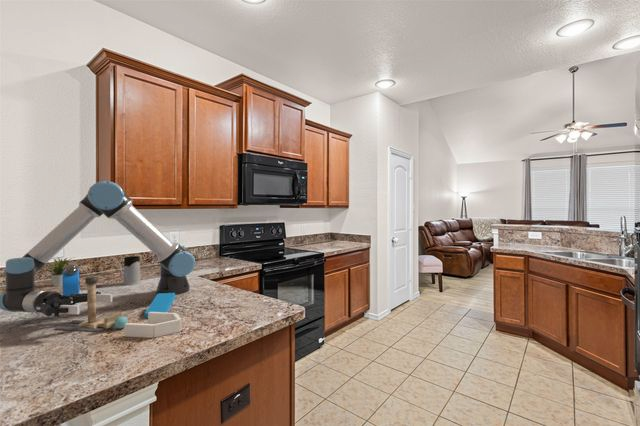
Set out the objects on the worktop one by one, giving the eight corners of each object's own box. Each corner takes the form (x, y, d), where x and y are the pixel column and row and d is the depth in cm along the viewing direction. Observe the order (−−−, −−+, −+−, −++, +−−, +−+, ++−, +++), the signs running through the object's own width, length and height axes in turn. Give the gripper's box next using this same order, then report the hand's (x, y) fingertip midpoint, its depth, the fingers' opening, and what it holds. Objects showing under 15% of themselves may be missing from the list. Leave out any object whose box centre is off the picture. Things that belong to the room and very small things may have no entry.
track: (55, 329, 106) (55, 327, 106) (73, 322, 113) (73, 319, 113) (101, 331, 104) (101, 329, 104) (117, 324, 111) (117, 321, 111)
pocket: (124, 336, 100) (124, 324, 100) (150, 322, 112) (150, 311, 112) (169, 338, 98) (169, 326, 98) (190, 324, 110) (190, 313, 110)
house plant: (84, 282, 178) (84, 254, 178) (62, 288, 164) (61, 257, 164) (62, 281, 179) (61, 254, 179) (38, 287, 165) (37, 257, 165)
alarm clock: (64, 294, 151) (63, 264, 151) (79, 292, 155) (79, 263, 155) (62, 300, 141) (62, 268, 140) (79, 298, 144) (79, 266, 144)
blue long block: (165, 327, 120) (178, 302, 137) (163, 312, 118) (177, 288, 135) (146, 329, 119) (162, 303, 136) (144, 313, 117) (160, 289, 134)
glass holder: (131, 285, 168) (130, 258, 168) (112, 283, 173) (112, 257, 173) (144, 282, 177) (144, 256, 177) (126, 280, 181) (126, 255, 181)
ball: (127, 325, 110) (127, 314, 110) (128, 328, 107) (128, 317, 107) (114, 327, 107) (113, 316, 107) (114, 331, 104) (114, 319, 104)
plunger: (76, 329, 106) (75, 279, 106) (92, 322, 112) (91, 275, 112) (107, 331, 104) (106, 280, 104) (121, 324, 110) (121, 276, 110)
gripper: (75, 301, 123) (123, 303, 120) (4, 324, 98) (62, 327, 96) (75, 283, 123) (122, 284, 120) (3, 301, 98) (61, 303, 96)
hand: (96, 303), depth 108 cm, fingers open, 13 cm apart
